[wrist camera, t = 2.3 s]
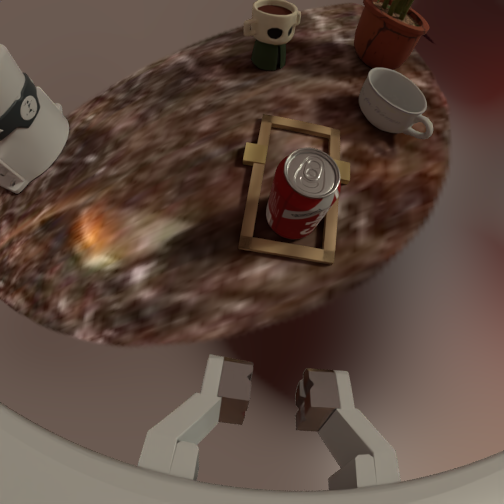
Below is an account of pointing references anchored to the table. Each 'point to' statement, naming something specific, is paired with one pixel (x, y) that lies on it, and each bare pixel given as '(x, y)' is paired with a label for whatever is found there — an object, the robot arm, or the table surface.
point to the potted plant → (388, 32)
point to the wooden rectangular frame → (256, 158)
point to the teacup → (393, 103)
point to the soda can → (302, 192)
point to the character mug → (271, 31)
